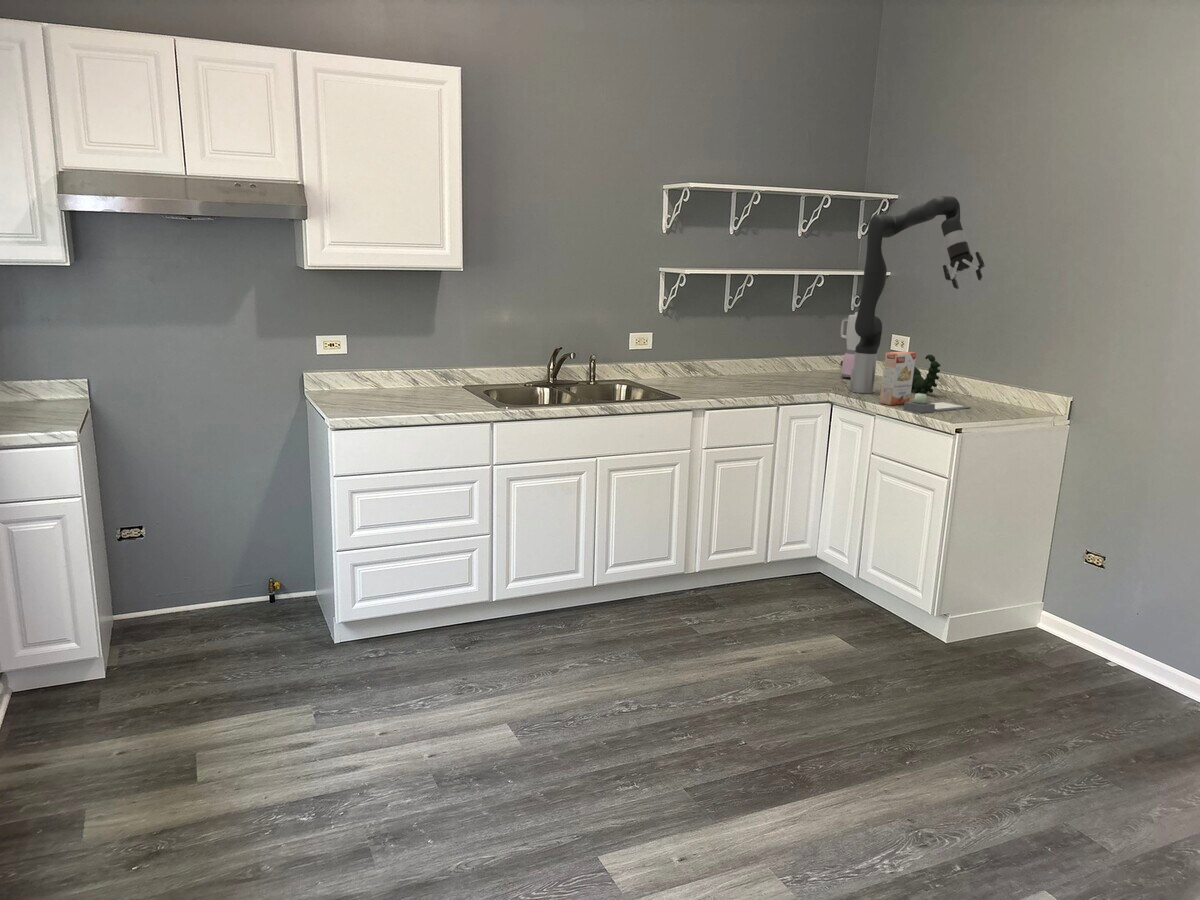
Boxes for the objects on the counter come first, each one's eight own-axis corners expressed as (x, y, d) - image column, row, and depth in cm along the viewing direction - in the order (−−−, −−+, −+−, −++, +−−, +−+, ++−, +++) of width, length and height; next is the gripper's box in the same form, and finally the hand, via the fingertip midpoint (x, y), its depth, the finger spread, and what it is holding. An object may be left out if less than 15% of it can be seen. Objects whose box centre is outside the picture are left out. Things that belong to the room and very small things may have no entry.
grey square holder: (903, 409, 338) (904, 402, 337) (917, 408, 342) (918, 401, 341) (920, 413, 331) (921, 405, 330) (934, 411, 335) (935, 404, 334)
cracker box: (891, 406, 346) (897, 353, 341) (878, 403, 350) (884, 352, 345) (911, 403, 354) (917, 352, 350) (897, 401, 359) (903, 350, 354)
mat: (908, 405, 348) (908, 403, 348) (941, 402, 358) (941, 401, 358) (937, 411, 336) (937, 409, 336) (970, 408, 346) (970, 406, 346)
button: (911, 403, 336) (912, 393, 336) (918, 403, 339) (919, 393, 338) (920, 405, 333) (921, 395, 332) (927, 405, 335) (928, 394, 334)
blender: (871, 379, 424) (878, 313, 417) (861, 381, 415) (868, 314, 408) (840, 375, 434) (847, 311, 427) (830, 377, 424) (836, 311, 417)
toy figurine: (940, 400, 377) (906, 386, 399) (948, 357, 371) (913, 345, 394) (921, 400, 374) (888, 386, 397) (929, 357, 368) (895, 345, 391)
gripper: (978, 239, 331) (990, 278, 328) (941, 254, 340) (952, 292, 337) (972, 235, 325) (984, 275, 323) (935, 250, 334) (946, 290, 331)
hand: (968, 284), depth 330 cm, fingers open, 8 cm apart
